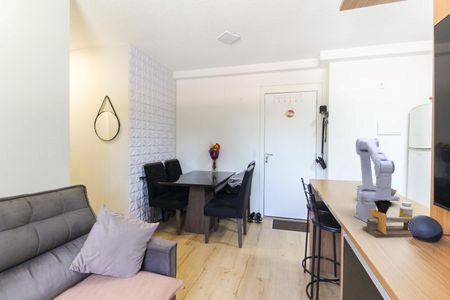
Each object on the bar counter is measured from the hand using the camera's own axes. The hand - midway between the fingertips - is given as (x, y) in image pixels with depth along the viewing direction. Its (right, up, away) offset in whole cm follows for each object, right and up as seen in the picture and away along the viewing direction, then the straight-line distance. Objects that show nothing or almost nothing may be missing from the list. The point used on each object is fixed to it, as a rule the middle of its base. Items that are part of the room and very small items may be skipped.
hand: (382, 216), depth 102 cm
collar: (-2, -6, 0) cm, 6 cm away
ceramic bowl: (+31, -6, +51) cm, 60 cm away
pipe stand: (+4, -8, +1) cm, 9 cm away
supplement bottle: (+25, -7, +17) cm, 31 cm away
